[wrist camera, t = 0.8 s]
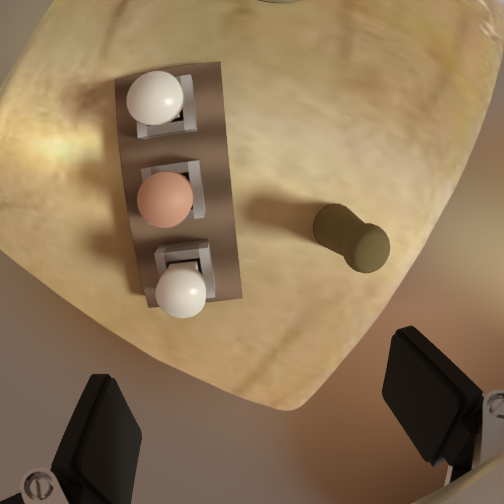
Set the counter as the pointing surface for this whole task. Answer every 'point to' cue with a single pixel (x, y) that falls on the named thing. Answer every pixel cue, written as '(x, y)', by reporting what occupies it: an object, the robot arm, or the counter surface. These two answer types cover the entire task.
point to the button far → (181, 290)
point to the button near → (155, 98)
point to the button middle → (165, 199)
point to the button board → (197, 173)
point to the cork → (352, 238)
